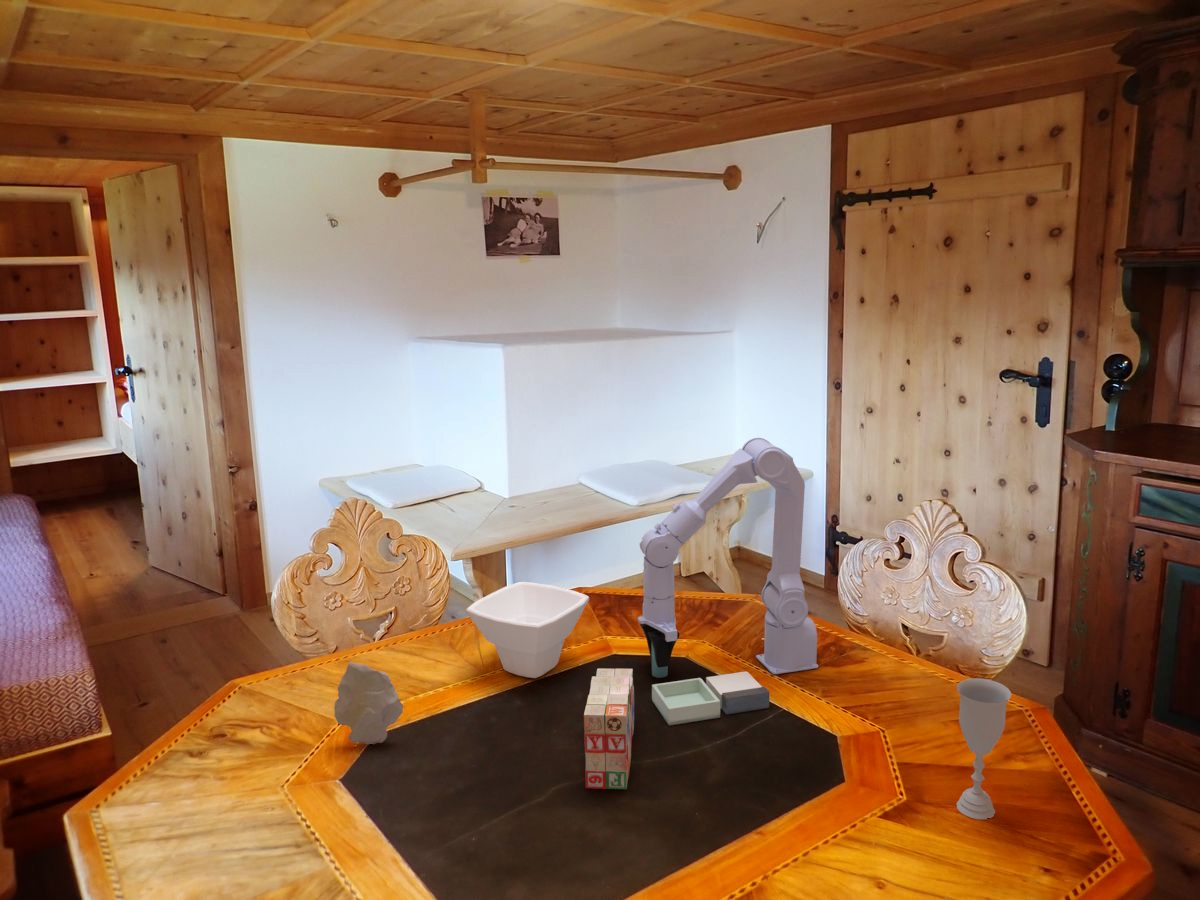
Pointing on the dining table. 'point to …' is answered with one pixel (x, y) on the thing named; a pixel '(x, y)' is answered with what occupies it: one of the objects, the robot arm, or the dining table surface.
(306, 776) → the dining table surface
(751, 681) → the pale grey box
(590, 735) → the stack of blocks
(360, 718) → the stone tool
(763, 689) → the bench dog
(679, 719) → the tray
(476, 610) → the bowl
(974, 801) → the chalice
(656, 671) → the dowel
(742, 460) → the robot arm
